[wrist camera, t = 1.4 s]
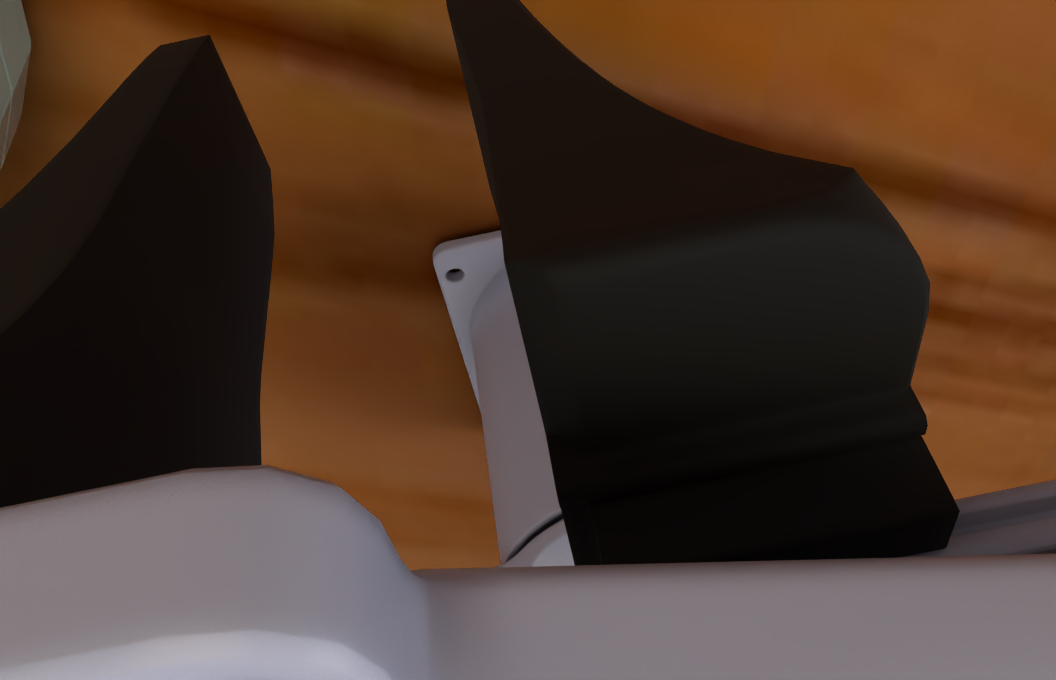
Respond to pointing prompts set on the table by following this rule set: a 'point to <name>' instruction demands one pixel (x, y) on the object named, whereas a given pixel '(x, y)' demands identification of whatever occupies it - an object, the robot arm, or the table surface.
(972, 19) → the table surface
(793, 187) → the robot arm
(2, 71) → the bowl
